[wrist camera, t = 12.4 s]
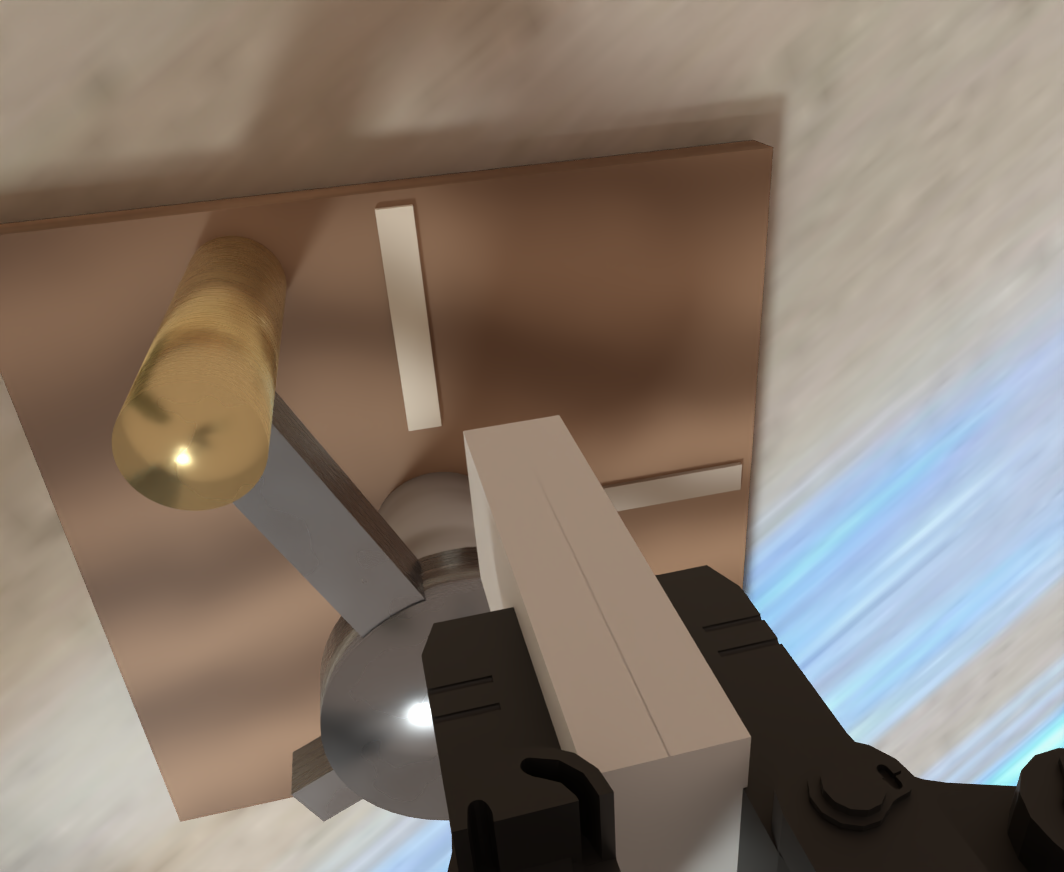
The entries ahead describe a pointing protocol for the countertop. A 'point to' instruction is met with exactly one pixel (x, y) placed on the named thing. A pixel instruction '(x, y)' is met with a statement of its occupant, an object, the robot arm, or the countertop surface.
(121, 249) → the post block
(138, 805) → the countertop surface
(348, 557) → the crank handle
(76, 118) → the countertop surface
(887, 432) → the countertop surface
